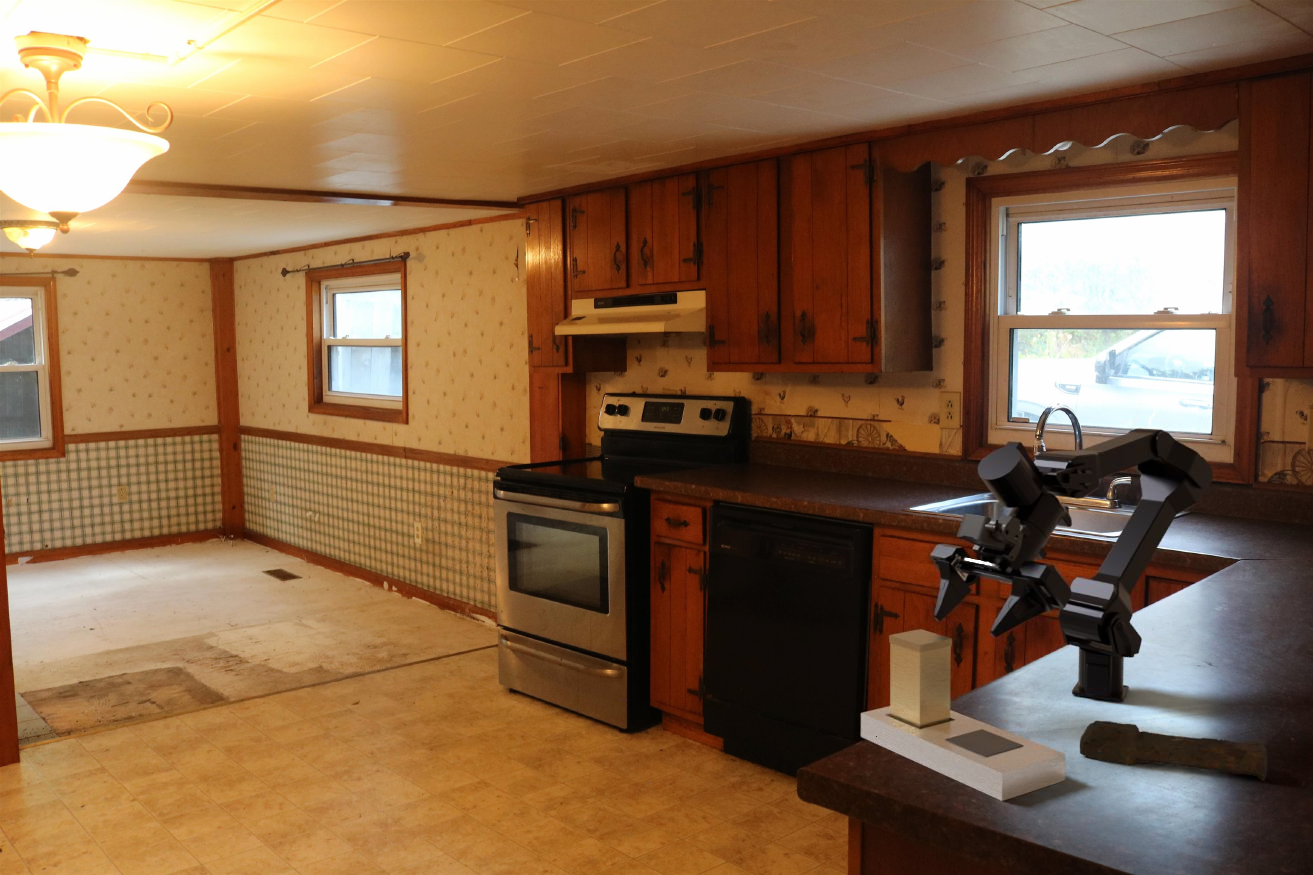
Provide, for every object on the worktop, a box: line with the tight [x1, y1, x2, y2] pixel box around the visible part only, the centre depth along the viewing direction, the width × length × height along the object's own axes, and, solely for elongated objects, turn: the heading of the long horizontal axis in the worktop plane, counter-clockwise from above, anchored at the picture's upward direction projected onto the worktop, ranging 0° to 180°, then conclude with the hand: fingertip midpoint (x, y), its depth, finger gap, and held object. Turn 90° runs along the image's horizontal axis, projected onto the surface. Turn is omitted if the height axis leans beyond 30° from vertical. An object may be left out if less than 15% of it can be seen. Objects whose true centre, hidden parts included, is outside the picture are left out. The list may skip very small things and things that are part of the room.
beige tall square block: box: [888, 628, 953, 729], centre depth 125 cm, size 5×5×13 cm
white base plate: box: [860, 705, 1066, 802], centre depth 120 cm, size 10×22×3 cm, turn 30°
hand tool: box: [1079, 720, 1268, 782], centre depth 117 cm, size 19×4×5 cm, turn 68°
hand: (963, 626), depth 128 cm, fingers open, 9 cm apart
